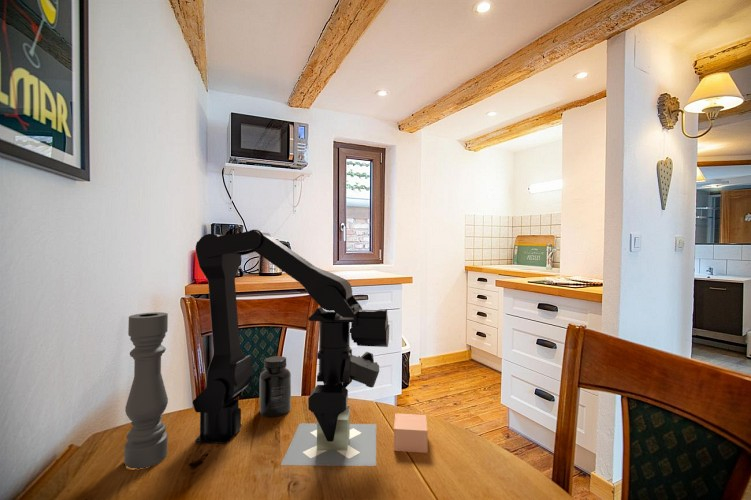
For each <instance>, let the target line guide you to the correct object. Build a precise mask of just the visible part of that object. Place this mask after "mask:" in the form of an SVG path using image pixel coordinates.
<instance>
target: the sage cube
mask: <svg viewBox="0 0 751 500" xmlns="http://www.w3.org/2000/svg"><path fill="white" fill-rule="evenodd" d="M316 424H317V450H337V451H347V449H348V442H349V436H350V424H351V406H348V405H347V408H346V410H345V411H344V412H343V413H341V414H339V415H338V420H337V425H336V431H335V436H334V441H332V442H328V441H327V440H326V437H325V435H324V433H323V431H322V429H321V427H320V425H319V423H318V421H317V420H316Z"/></svg>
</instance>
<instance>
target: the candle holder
mask: <svg viewBox="0 0 751 500" xmlns="http://www.w3.org/2000/svg"><path fill="white" fill-rule="evenodd" d="M168 316H169V313H167V312H143V313H136V314H132V315H129V316H128V327H127V328H128V331H127V332H128V336H129V337H130V339H129V340H130V341H131V343H132V345H133V346H134V348H133V349H132V350H130V352H129V355H130V357H131V358H132V359H133V360H134V361H133V362H134V366H133V367H134V371H133V373H134V374H133V375H134V376H133V380H132V384H131V387H130V391H129V393H128V398H127V401H126V404H125V415H126V416H127V418H128V419H129V420H130V421H131V422H130V424H131V425H132V427H131V428H130V429H129V431H128V433H127V434H126V440H127V441H126V443H125V444H124V447H123V448H124V450H123V451H124V452H123V453H124V455H123V456H124V457H123V464H124V463H125V465H126V466H128V467H130V468H137V469H140V468H146V467H149V466H152V467H154V466H156V465H158V464H159V463H161V462H163V461H164V460H165V459H166V458H167V455H168V438H169V437H168V433H167V432H166V429H167V426H166V425H165V423H164V422H163V421H162V418H163V414H164V412H165V410H166V408H167V407H168V402H169V398H168V394H167V392H166V386H165V383H164V379H163V375H162V356H163V354H164V353H165V352H166V350H167V349H166V348H167V347H165V346H164V345H163V344H162V343H163V341H164V339H165V338H166V333H168V328H169V327H168V326H169V324H168V322H169V321H168V319H169V318H168ZM153 465H154V466H153ZM149 468H150V467H149ZM146 469H147V468H146Z"/></svg>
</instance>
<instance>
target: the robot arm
mask: <svg viewBox="0 0 751 500" xmlns="http://www.w3.org/2000/svg"><path fill="white" fill-rule="evenodd" d="M253 253H257V254H258V255H259V256H261V257H262V258H264V259H265V260H267V261H268V262H269V263H271V264H272V265H274V266H275V267H277V269H279V270H280V271H282V272H283V273H285V274H286V275H288V276H290V277H291V278H292V279H293V280H295V281H296V282H297V283H299V284H300V285H301V286H302V287H303V288H304V290H305V292H306V293H307V295H309V296H310V298H311V299H312V300H313V301H314V302H315V303H316V304H317V305H318V306H319V307H317V308H315V309H316V310H315V311H314V312H313V313H312V314H311V315H310V316H309V317H308V321H309V322H318V323H319V324H318V325H319V326H318V327H319V330H318V332H319V333H318V334H319V337H318V339H319V340H318V341H319V344H318V351H317V353H316V358H317V360H318V373H317V376H316V382H318V383H319V382H321V383H323V384H317V385H316V386H315V387H314V388H313V389H312V390H311V393H309V396H308V400H307V402H308V403H307V404H308V406H307V407H308V408H307V410H309V411H310V412H311V413H312V414H313V415H314V417H315V419H316V422H317V421H318V423H319V425H320V427H321V429H322V431H323V433H324V435H325V437H326V440H327V441H328V442H332V441H334V436H335V431H336V425H337V420H338V415H339V414H341V413H343V412H344V411H345V410H346V408H347V406H348V403H349V401H348V400H349V390H348V389H347V387H348V386H349V385H350V384H351V383H352V382H353V381H355V382H358V383H361V384H363V385H365V386H366V387H368V388H374V387H375V384H376V382H377V379H378V376H379V373H380V365H379V363H378V362H377V361H375V360H374V354H373V353H371V352H368V351H366V352H364V353H363V354H362V355H361V356H360V355H358V356H357V355H354V354H353V349H352V348H351V346H350V341H351V340H352V342H353V343H355V344H356V346H357V347H375V348H376V347H378V348H381V347H382V348H388V347H389V343H390V342H389V341H390V340H389V339H390V324H389V318H388V317H389V316H388V309H387V308H386V309H385V308H384V309H383V308H382V309H381V308H380V309H363V307H362V306H361V305H360V303H359V302H358V300H357V299H356V298H355V296H354V295H353V288H352V285H351V283H350V282H349V281H348V280H347V279H345V278H343V277H341V276H339V275H336V274H335V273H333V272H330V271H327V270H324V269H321V268H320V267H317V266H315V265H314V264H312V263H311V262H310V261H308V260H306V259H305V258H303V256H301V255H299V254H298V253H296V252H295V251H293V250H292V249H291V248H290V247H287V246H286V245H285V244H283V243H282V242H281V241H279V240H278V239H276V238H275V237H273V236H272V235H271V234H270V233H269V232H268V231H266V230H261V229H250V230H247V231H243V232H238V233H237V232H236V233H229V234H218V233H217V234H216V233H207V234H204V235H203V236H201V237H200V238H199V240H198V241H196V244H195V255H196V259H197V262H198V266H199V269H200V270H201V272H202V273H203V275H204V277H205V278H206V280H207V282H208V283H207V284H208V295H209V309H210V325H211V335H212V349H213V353H212V358H211V361H210V362H209V366H208V368H207V370H206V372H207V373H206V381H205V382H206V383H205V388H204V389H203V390H202V391H201V392H200V393H199V394H198V395H197V396H196V397H195V398H194V399H193V400H192V405H193V408H194V411H195V413H199V435H198V436H197V437H196V439H195V440H194V443H195V444H227V443H229V442H230V441H231V440H232V439H233V437H234V436H236V435H237V434H238V432H239V431H241V430H240V429H242V427H243V424H242V409H241V408H240V407H239V404H240V402H239V398H240V397H241V396H242V395H243V392H244V391H245V389H246V388H247V387H248V386H249V385H250V383H251V382H252V376H253V375H254V374H255V372H254V369H253V356H252V355H251V354H249V355H245V353H244V352H243V351H242V349H241V343H240V342H241V341H240V330H239V328H240V327H239V317H238V304H237V302H238V301H237V294H236V293H237V290H236V276H237V272H238V270H239V267H240V265H241V258H242V256H246V255H250V254H253ZM350 325H351V326H350ZM350 339H351V340H350Z"/></svg>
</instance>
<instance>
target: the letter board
mask: <svg viewBox="0 0 751 500" xmlns="http://www.w3.org/2000/svg"><path fill="white" fill-rule="evenodd" d="M280 465H281V466H333V467H334V466H336V467H338V466H339V467H340V466H342V467H343V466H345V467H346V466H347V467H349V466H350V467H351V466H352V467H354V466H355V467H356V466H357V467H361V466H362V467H363V466H364V467H368V466H369V467H376V466H377V423H350V436H349V442H348V449H347V451H337V450H317V423H302V422H301V423H299V424H298V426H297V429H296V431H295V433H294V436H293V437H292V440H291V442H290V444H289V447H288V448H287V450H286V452H285V455H284V457H283V459H282V461H281V464H280Z"/></svg>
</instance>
